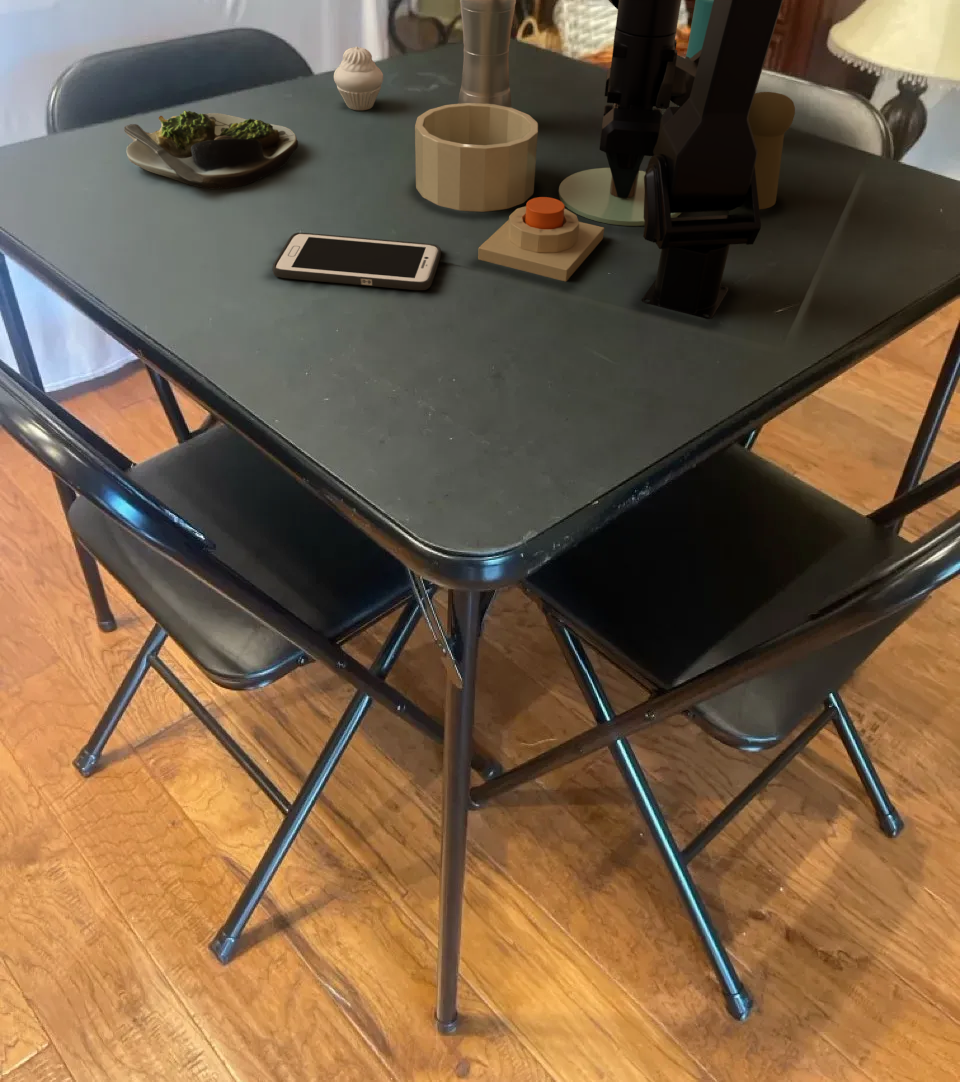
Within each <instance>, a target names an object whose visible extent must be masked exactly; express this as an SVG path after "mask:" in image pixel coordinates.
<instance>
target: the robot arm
mask: <svg viewBox="0 0 960 1082" xmlns="http://www.w3.org/2000/svg"><path fill="white" fill-rule="evenodd" d="M608 2H609V3H610V4H611V5H612V6H614V8H615V9H616V10H617V14H616V22H615V29H614V35H613V36H614V37H613V45H612V54H611V63H610V67H609V68H608V69H607V72H606V79H605V88H604V97H606V103H607V104H605V105H604V106H603V116H602V122H601V123H602V124H601V130H600V138H599V139H600V141H599V150H600V151H601V152H604V153H605V155H606V159H607V162H608V167H609V168H610V170H611V174H612V177H613V181H614V185H615V189H616V193H617V196H618V197H620V198H627V197H628V196H629V194H630V191H631V188H632V186H633V183H634V181H635V178H636V175H637V173H638V170H639V168H640V169H641V165H642V162H643V160H644V158H645V156H646V157H650V158H649V161H648V164H647V168H645V171H644V172H645V176H644V189H645V195H644V230H643V233H642V234H643V235H642V237H643V238H644V240H645V241H649V242H652V243H653V244H654V243H655V245H656V246H657V248H658V249H659V250H661V251H660V254H659V255H660V256H659V261H658V267H657V271H656V277H655V279H654V281H653V283H652V284H651V285H650V287H649V288H648V289H647V291H646V293H645V294H644V295H643V297H642V298H641V302H642V303H644V304H646V305H649V306H650V305H651V306H655V307H659V308H662V309H666V310H670V311H674V312H677V313H682V314H686V315H689V316H693V317H696V318H697V317H698V318H701V319H706V320H711V319H713V318H714V316H715V314H716V312H717V310H718V308H719V307H720V305H721V303H722V302H723V300H724V298H725V297H726V295H727V293H728V291H729V287H727V286H726V285H722V280H723V276H724V271H725V268H726V263H727V259H728V255H729V250H730V246H731V245H754V243H755V241H756V239H757V237H758V236H759V235H758V234H759V233H760V230H761V228H762V221H761V214H760V213H761V211H760V209H759V202H758V193H757V183H756V174H755V163H756V158H757V153H758V151H757V147H756V144H755V140H754V137H753V134H752V130H751V127H750V124H749V120H748V117H749V112H750V108H751V105H752V102H753V99H754V95H755V93H757V88H758V85H759V81H760V79H761V76H762V71H763V69H764V65H765V62H766V59H767V56H768V53H769V50H770V46H771V43H772V39H773V35H774V32H775V29H776V25H777V23H778V22H777V21H778V19H779V15H780V12H781V9H782V6H783V2H784V0H714V2H713V6H712V10H711V14H710V18H709V22H708V26H707V30H706V34H705V38H704V42H703V46H702V49H701V50H700V51H699V52H698V53H696V54H695V55H694V56H693V57H691V58H690V59H689V57H687V56H686V55H685V57H683V56H681V55H679V54H678V49H677V45H678V44H677V43H678V41H677V39H676V36H677V29H678V24H679V17H680V11H681V4H682V0H608ZM671 102H672V103H673V104H674V105H676V106H670V104H671ZM678 106H680V107H678ZM663 110H665V111H664V112H663ZM639 171H640V170H639ZM727 211H728V214H721V215H720V214H719V215H701V216H679V217H678V216H677V217H675V218H671V213H681V214H683V213H686V214H687V213H703V212H704V213H706V212H707V213H708V212H727ZM722 288H723V289H722ZM646 300H648V301H646ZM706 315H707V316H706Z"/></svg>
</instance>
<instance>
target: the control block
mask: <svg viewBox="0 0 960 1082" xmlns="http://www.w3.org/2000/svg"><path fill="white" fill-rule="evenodd" d="M508 216H509V217H508V220H507V221H505V223H504V224H502V225H501V226H500V227H499V228H498V229H497V230H496V231H495V232H494V233H493V234H492V235H490V237H488V239H486V240H485V241H484V242H483V243H482V244H481V245H480V246H479V247H478V254H477V259H478V260H479V261H483V262H487V263H491V264H495V265H499V266H503V267H506V268H511V269H514V270H519V271H523V272H527V273H530V274H534V275H538V276H542V277H546V278H549V279H550V278H551V279H554V280H558V281H562V282H567V281H568V280H569V279H570V278H571V276H573V274H574V273H575V272H576V271H577V270H578V269H579V268H580V266H581V265H582V264H583V263H584V262H585V260H586V259H587V258H588V257H589V255H591V254H592V252H593V251H594V250H595V249H596V247H597V246H598V245H599V244H600V243H601V242H602V240H603V239H604V234H605V233H604V232H605V227H603V226H600V225H599V226H598V225H595V224H591V223H587V222H582V221H580V220H579V219H578V216H577V214H576V213H574V212H572V211H571V210H569V209H568V208H566V207H565V208H564V218H563V225H562V227H559V228H556V229H538V228H533V227H530V226H528V225H527V224H526V223H525V217H526V205H525V206H522V207H518V208H516V209H515V210H514V211H513V212H512V213H511V214H510V215H508Z"/></svg>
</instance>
